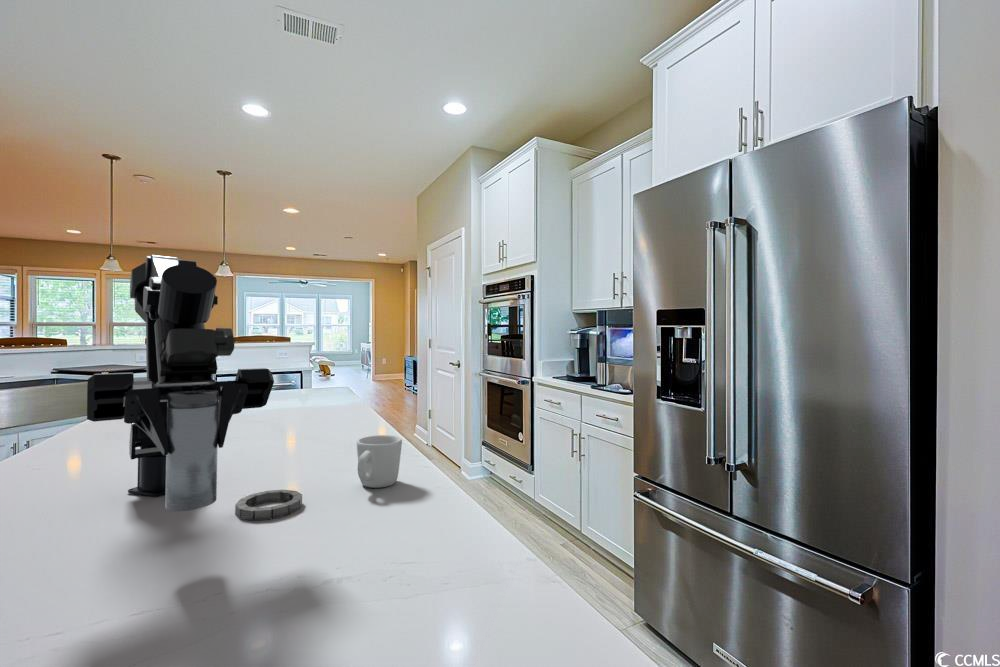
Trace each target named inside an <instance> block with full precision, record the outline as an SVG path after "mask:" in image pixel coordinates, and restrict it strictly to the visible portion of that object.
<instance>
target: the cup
mask: <svg viewBox="0 0 1000 667" xmlns="http://www.w3.org/2000/svg"><path fill="white" fill-rule="evenodd" d="M402 445H403V439H402V438H401V437H400V436H396V435H389V434H383V435H381V434H380V435H378V434H377V435H369V436H364V437H361V438H359V439H358V440H356V452H357V475H358V478H359V480H360V483H361V485H363V486H364V487H367V488H373V489H374V488H377V489H378V488H379V489H380V488H385V487H390V486H392V485H393V484H395V483H396V482H397V481H398V478H399V471H400V464H401V453H402V447H403V446H402Z"/></svg>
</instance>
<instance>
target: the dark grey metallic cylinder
mask: <svg viewBox="0 0 1000 667" xmlns="http://www.w3.org/2000/svg"><path fill="white" fill-rule="evenodd" d="M218 403H219V391H215V390H189V391H178V392H171V393H168V395H167V436H168V446H169V451H168V455H166V490H165V496H164V497H165V498H164V500H165V501H164V502H165V503H164V505H165V506H164V508H165V510H167V511H170V512H186V511H193V510H198V509H202V508H205V507H209V506H210V505H213V504H214V503H215V502H216V501H217V494H218V492H217V491H218V490H217V488H218V486H217V485H218V450H219V449H218V448H219V446H218Z"/></svg>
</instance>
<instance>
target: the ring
mask: <svg viewBox="0 0 1000 667" xmlns="http://www.w3.org/2000/svg"><path fill="white" fill-rule="evenodd" d="M269 502H285V503H282V504H278V505H277V504H276V505H274V506H263V507H254V506H256V505H259V504H264V503H269ZM302 505H303V494H302V493H300V492H299V491H298V490H290V489H271V490H264V491H260V492H259V491H258V492H256V493H252V494H248V495H246V496H245V497H242V498H240V499H238V501H237V502H236V503H235V505H234V506H235V508H234V509H235V511H234V512H235V514H234V515H235V516H236V517H237V518H238V519H240V520H245V521H255V522H256V521H257V522H258V521H269V520H274V519H278V518H282V517H283V518H284V517H286V516H289V515H292V514H293V513H295V512H297V511H299V510H300V509H301V508H302Z"/></svg>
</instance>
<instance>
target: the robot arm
mask: <svg viewBox="0 0 1000 667" xmlns="http://www.w3.org/2000/svg"><path fill="white" fill-rule="evenodd" d="M129 280H130V281H129V282H130V283H129V297H130V299H133V300H134V311H135V312H136V314H137V315H138V316H139V317H140V318H141V320H142V321H143V322H144V323H145V345H146V346H145V352H146V353H145V355H146V357H145V358H146V361H145V362H146V378H139V379H135V376H134V372H113V373H112V372H111V373H109V372H107V373H93V375H91V376H90V377H88V378H87V387H86V388H87V389H86V390H87V391H86V392H87V393H86V394H87V395H86V399H87V400H86V420H88V421H90V422H95V423H96V422H104V421H116V420H123V421H124V423H125V424H130V431H129V434H130V435H129V441H128V442H129V447H128V448H129V452H128V453H129V458H130V460H136V459H137V483H136V484H137V486H136V487H132V488H128V489H127V493H128V494H134V495H135V494H136V495H141V496H143V495H144V496H151V497H160V496H162V495H164V494H165V490H166V455H168V451H169V446H168V436H167V395H168V393H171V392H178V391H189V390H215V391H219V403H218V448H219V449H222V448H224V444H225V440H226V437H227V431H228V429H229V428H228V427H229V424H230V421H231V420H232V417H233V415H237V414H240V413H241V412H242V411H243V410H247V409H248V410H249V409H257V408H259V409H260V408H263V407H265V406H267V404H268V401H269V398H270V395H271V392H272V390H273V386H274V384H275V380H274V377H273V376H274V375H273V372H272V371H271V370H270V369H269V368H266V367H258V368H238V369H237V372H236V376H235V379H234V380H224V381H223V380H222V381H217V380H216V379H214V375H216V374H217V373H218V372H217V371H218V363H217V357H219V356H220V357H224V356H227V357H229V356H232V354H233V352H234V350H235V337H234V334H233V329H232V328H230V327H229V328H228V327H223V328H222V327H216V328H215V329H211V328H206V326H205V323H207V322H208V321H209V320H210V318H211V312H212V310H213V309H214V307H215V306H217V305H219V304H218V302H219V301H218V299H219V296H218V295H216V290H217V289H216V288H217V284H218V282H217V281H218V280H217V277H216V276H214V274H212V273H211V272H210V271H208V270H206V269H205V268H203V267H199V266H198V265H197V262H196V261H193V260H183V259H182V258H181V259H179V258H178V257H176V256H166V255H165V256H164V255H156V254H151V255H146V257H145V262H144V263H142V264H140V265H138V266H136V267H135V268H132V269H131V272H130V279H129Z"/></svg>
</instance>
